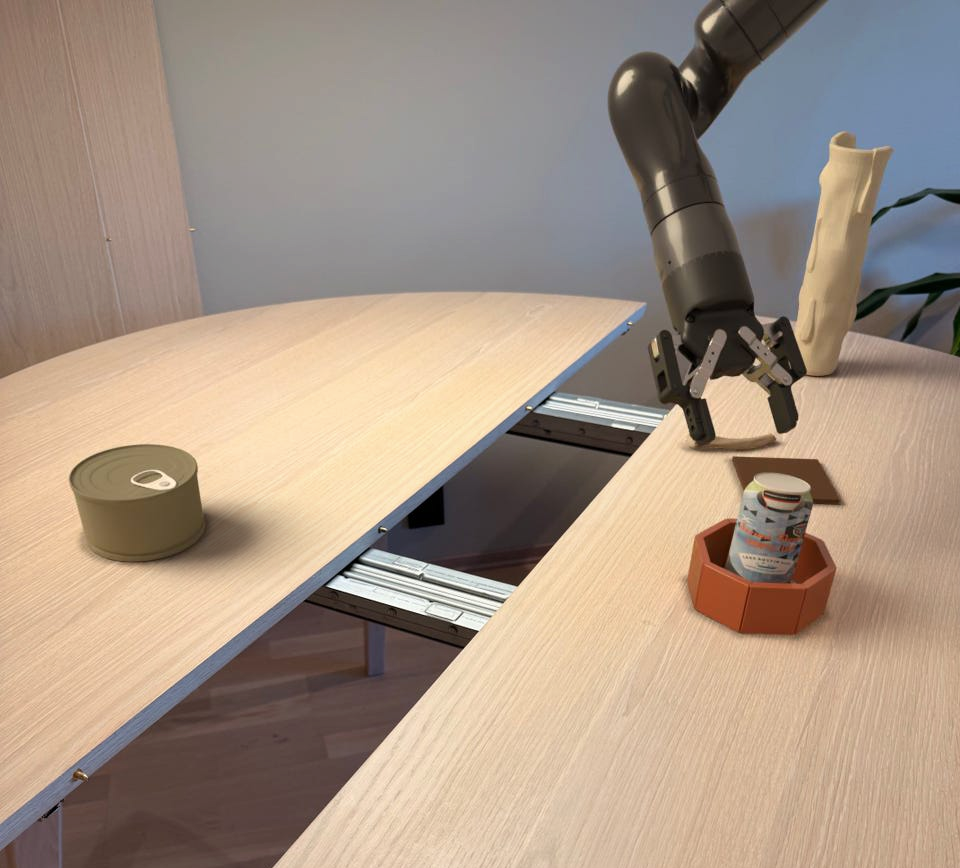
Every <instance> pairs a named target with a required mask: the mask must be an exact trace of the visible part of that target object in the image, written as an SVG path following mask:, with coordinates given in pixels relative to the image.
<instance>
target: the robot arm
mask: <svg viewBox="0 0 960 868" xmlns="http://www.w3.org/2000/svg"><path fill="white" fill-rule="evenodd" d="M829 1H830V0H709V1H708V2H707V3H706V5H705V6H703V8H702V9H701V10H700V11H699V12H698V14H697V15H696V17H695V19H694V22H693V33H694V34H693V35H694V44H693V46H692V48H691V50H690V51H689V53H688V54H687V55H686V57H685V58H684V59H683V60H682V62H681V63H680V65H678V66H677V65H676V64H675V63H674V62H673V61H672V60H671V59H670V58H669V57H667V56H666V55H664V54H661V53H659V52H656V51H649V50H648V51H639V52H636V53H634V54H632V55H630V56H628V57H626V58H625V59H624V60H623V61H622V62H621V64H620V65H618V67H617V68H616V69H615V71H614V73H613V75H612V78H611V80H610V83H609V85H608V90H607V98H606V99H607V103H606V105H607V112H608V117H609V122H610V125H611V128H612V131H613V134H614V136H615V139H616V142H617V144H618V146H619V149H620V152H621V153H622V156H623V159H624V160H625V161H624V162H625V163H626V165H627V167H628V170H629V172H630V174H631V176H632V178H633V180H634V183H635V184H636V188H637V190H638V193H639V197H640V201H641V206H642V211H643V215H644V219H645V221H646V225H647V228H648V232H649V235H650V240H651V244H652V250H653V259H654V263H655V267H656V271H657V275H658V278H659V282H660V286H661V290H662V293H663V297H664V299H665V304H666V308H667V311H668V314H669V319H670V321H671V325H672V328H673V330H674V331H675V332H676V334H672V333H671V331H669V330H668V329H662V330H661V331H659V332H658V334H657V335H656V336H655V337H654V338H653V339H651V341H650V342H649V343H648V345H647V351H648V356H649V360H650V366H651V371H652V375H653V379H654V383H655V384H654V385H655V389H656V394H657V398H658V401H659V403H661V404H662V405H668V404H672V405H673V404H674V405H677V406H679V407H680V409H682V411H683V416H684V418H685V419H684V420H685V422H686V426H687V429H688V434H689V433H690V436H691V438H692V439H693V441H696V442H697V445H698V446H705V445H708V444H709V443H711V442H712V441H713V440H715V437H716V436H717V435H716V434H717V433H716V430H715V426H714V423H713V419H712V416H711V412H710V409H709V405H708V401H707V399H706V398H702V397H703V394H704V391H705V388H706V387H707V383H708V380H710V381H712V380H713V381H714V380H718V379H720V378H723V377H729V378H730V377H731V378H735V377H740V376H741V375H742V376H743V377H744V378H745V379H746V380H747V381H748V382H750V383H756V384H757V385H758V386H759V387H760V388H761V389H762V390H764V391H765V393H767V394H768V395H769V396H768V397H766V398H767V403H768V406H769V410H770V412H771V417H772V419H773V423H774V427H775V430H776V433H777V434H778V435H782V434H788V433H789V432H791V431H792V430H793V429H795V428H796V427H797V424H798V421H799V412H798V409H797V405H796V402H795V398H794V395H793V392H792V386H793V385H794V384H796V383H797V382H798V381H800V380H801V379H802V378H804V377H806V376H807V375H806V374H807V369H806V366H805V364H804V361H803V358H802V355H801V352H800V349H799V346H798V344H797V341H796V338H795V335H794V332H795V331H794V329H793V327H792V323H791V321H790V319H789V318H788V317H786V316H785V315H784V316H780V317H779V318H778V319H776V320H775V321H774V322H768V323H763V324H762V323H761V322H760V321H759V319H758V318H757V317H756V315H755V294H754V292H753V289H752V285H751V281H750V278H749V274H748V271H747V268H746V264H745V261H744V257H743V254H742V250H741V246H740V243H739V240H738V237H737V234H736V231H735V228H734V225H733V224H732V221H731V219H730V217H729V215H728V212H727V209H726V206H725V202H724V199H723V196H722V192H721V189H720V185H719V182H718V178H717V176H716V173H715V170H714V167H713V166H712V163H711V161H710V160H709V158H708V156H707V154H705V152H704V151H703V149H702V147H701V146H700V143H699V142H698V141H699V139H701V138H702V136H704V134H705V133H706V132H707V131H708V130H709V129H710V127H711V126H712V125H713V123H714V122H715V121H716V120H717V118H718V117H719V116H720V114H721V113H722V111H723V110H724V109H725V108H726V106H727V105H728V104H729V102H731V100H732V98H733V97H734V96H735V94H736V93H737V91H738V90H739V88H740V87H741V85H742V84H743V82H744V81H745V79H747V77H748V76H749V75H750V74H751V73H752V72H754V71H755V70H756V69H757V68H758V67H760V66H761V65H762V63H764V62H765V61H766V60H768V59H769V58H770V57H771V56H772V55H773V54H774V53H775V52H777V50H779V49H780V48H781V47H782V46H783V45H784V44H785V43H786V42H788V40H790V39H791V38H792V37H793V36H794V35H795V34H796V33H797V32H798V31H799V30H800V29H802V28H803V27H804V26H805V25H806V24H807V23H808V22H809V21H810V20H811V19H812V18H813V17H814V16H815V15H817V14H818V12H819V11H820V10H821V9H822V8H823V7H824V6H825V5H826V4H828V3H829ZM762 341H764V343H763V342H762ZM679 353H680V354H681V355H682V356H683V357H684V359H686V360H687V361H688V362H689V366H688V368H687V371H686V374H685V376H684V379H683V381H682V377H681V371H680V367H679V363H678V358H677V355H678V354H679ZM756 360H757V361H758V362H759V364H758V365H755V362H756ZM789 364H790V365H789ZM790 367H791V368H790Z"/></svg>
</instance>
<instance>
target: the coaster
mask: <svg viewBox="0 0 960 868" xmlns="http://www.w3.org/2000/svg"><path fill="white" fill-rule="evenodd" d="M731 462H732V465H733V466H734V467H733V468H734V469H735V473H736V474H737V477H738V479H739V482H740V485H741V488H742V489H743V491H744V490H745V488H746V487H747V486H748V485H749V484H750V483H751V482H752V481H753V480H754V477H755V475H757V474H760V473H779V474H785V475H789V476H793V477H796V478H799V479H801V480H803V481H805V482H807V483H808V484H809V485H810V487H811V489H810V494H811V496H812V499H813V504H820V505H821V504H822V505H825V504H826V505H840V502H841V498H840V497H839V495H838V493H837V492H836V490H835V488H834V486H833V484H832V482H831V481H830V478H829V477H828V475H827V473H826V472H825V470H824V468H823V466H822V465H821V463H820V461H819V459H818V458H795V457H766V456H765V457H763V456H737V455H735V456H734V455H733V456H732V458H731Z"/></svg>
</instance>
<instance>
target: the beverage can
mask: <svg viewBox="0 0 960 868" xmlns="http://www.w3.org/2000/svg"><path fill="white" fill-rule="evenodd" d="M810 489H811V487H810V485H809V484H808V483H807V482H805V481H803V480H801V479H799V478H796V477H793V476H789V475H785V474H779V473H760V474H757V475H755V477H754V480H753V481H752V482H751V483H750V484H749V485H748V486H747V487H746V488H745V490H743V494H742V497H741V502H740V506H739V509H738V514H737V517H736V519H737V522H736V526H735V530H734V534H733V538H732V543H731V547H730V551H729V555H728V559H727V563H726V567H725V568H724V569H726V570H728V571H730V572H732V573H734V574H736V575H738V576H740V577H742V578H744V579H746V580H748V581H750V582H759V583H787V584H792V582H793V581H792V578H793V574H794V571H795V567H796V564H797V560H798V557H799V553H800V550H801V546H802V542H803V539H804V535H805V532H806V531H807V528H808V524H809V521H810V518H811V514H812V510H813V508H814V507H813V506H814V503H813V499H812V496H811V494H810ZM806 533H807V532H806Z"/></svg>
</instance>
